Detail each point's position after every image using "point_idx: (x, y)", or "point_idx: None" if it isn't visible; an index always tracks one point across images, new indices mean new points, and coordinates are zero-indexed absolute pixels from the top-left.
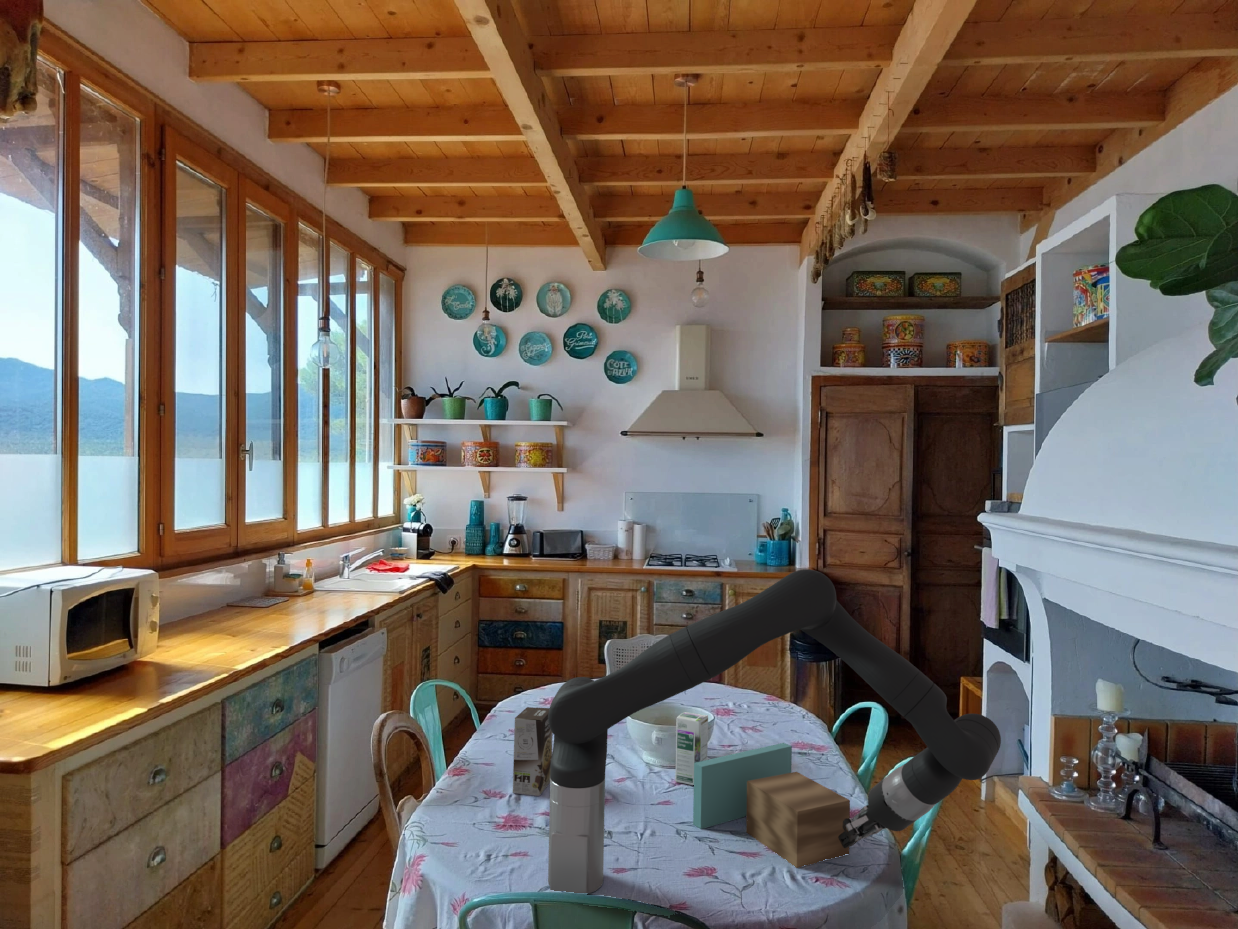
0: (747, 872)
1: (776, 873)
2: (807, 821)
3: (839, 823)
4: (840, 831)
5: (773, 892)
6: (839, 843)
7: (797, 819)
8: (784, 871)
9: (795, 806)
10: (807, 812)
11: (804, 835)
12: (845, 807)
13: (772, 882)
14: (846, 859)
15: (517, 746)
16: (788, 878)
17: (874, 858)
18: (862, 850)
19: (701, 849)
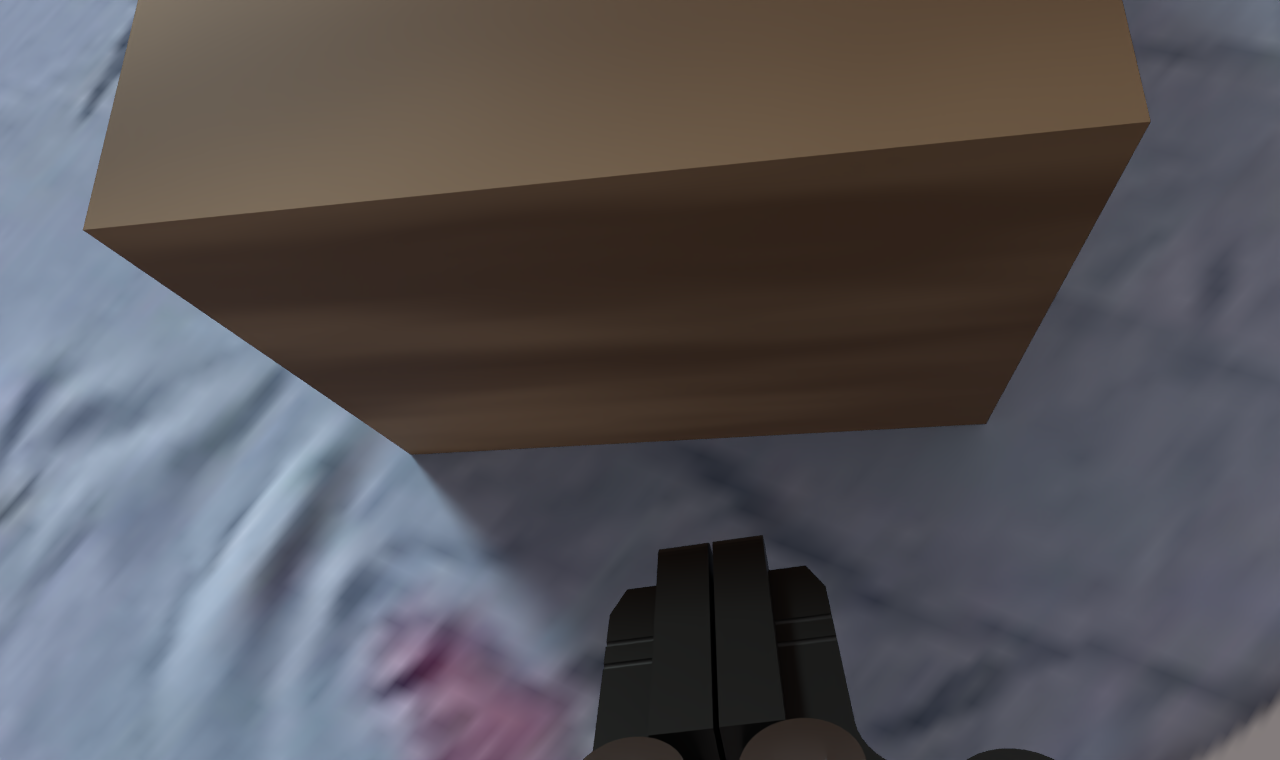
0: (78, 378)
1: (228, 462)
2: (340, 290)
3: (880, 301)
4: (892, 340)
5: (10, 688)
6: (872, 386)
7: (157, 280)
8: (298, 459)
9: (183, 94)
10: (275, 235)
11: (373, 355)
12: (1021, 189)
13: (111, 561)
14: (904, 482)
15: None
16: (248, 559)
17: (1197, 566)
18: (1173, 398)
19: (68, 47)
